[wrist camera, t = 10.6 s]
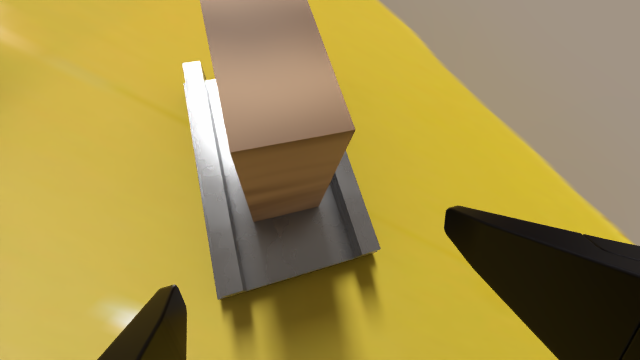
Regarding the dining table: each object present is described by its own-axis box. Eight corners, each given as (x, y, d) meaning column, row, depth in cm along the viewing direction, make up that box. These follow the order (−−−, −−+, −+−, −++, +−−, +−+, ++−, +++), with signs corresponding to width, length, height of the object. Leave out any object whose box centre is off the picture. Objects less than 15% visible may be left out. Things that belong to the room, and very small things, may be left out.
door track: (372, 253, 20) (388, 247, 17) (220, 299, 17) (210, 300, 15) (311, 75, 25) (315, 48, 22) (187, 91, 23) (174, 63, 20)
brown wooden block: (318, 206, 20) (355, 129, 10) (253, 222, 19) (229, 152, 9) (290, 111, 22) (300, -19, 13) (232, 120, 21) (197, -13, 12)
